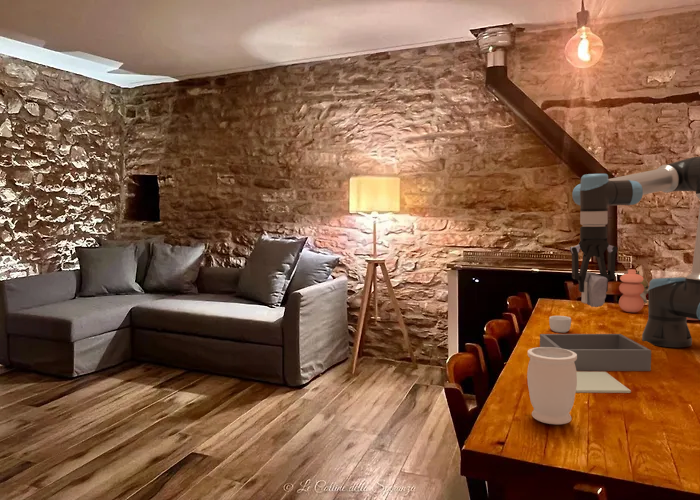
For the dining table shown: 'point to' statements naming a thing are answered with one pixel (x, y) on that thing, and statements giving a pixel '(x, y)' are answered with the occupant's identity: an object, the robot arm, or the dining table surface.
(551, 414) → the jar
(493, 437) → the dining table surface
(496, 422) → the dining table surface
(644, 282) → the ceramic sculpture
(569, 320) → the teacup
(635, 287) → the ceramic vessels
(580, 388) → the board
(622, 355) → the access frame
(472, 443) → the dining table surface
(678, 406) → the dining table surface
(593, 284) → the stone block
